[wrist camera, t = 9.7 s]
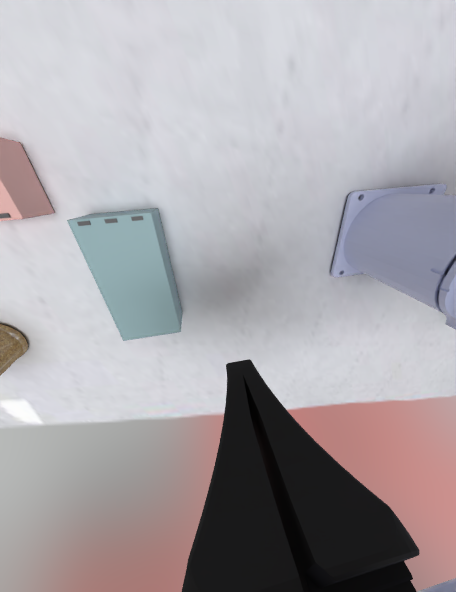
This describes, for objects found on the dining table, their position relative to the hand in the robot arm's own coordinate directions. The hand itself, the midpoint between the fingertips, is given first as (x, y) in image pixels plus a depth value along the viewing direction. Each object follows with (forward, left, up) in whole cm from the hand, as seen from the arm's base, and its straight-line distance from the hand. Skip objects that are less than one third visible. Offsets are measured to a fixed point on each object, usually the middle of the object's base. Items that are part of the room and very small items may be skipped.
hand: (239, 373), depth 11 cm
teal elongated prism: (+7, -3, -10) cm, 12 cm away
